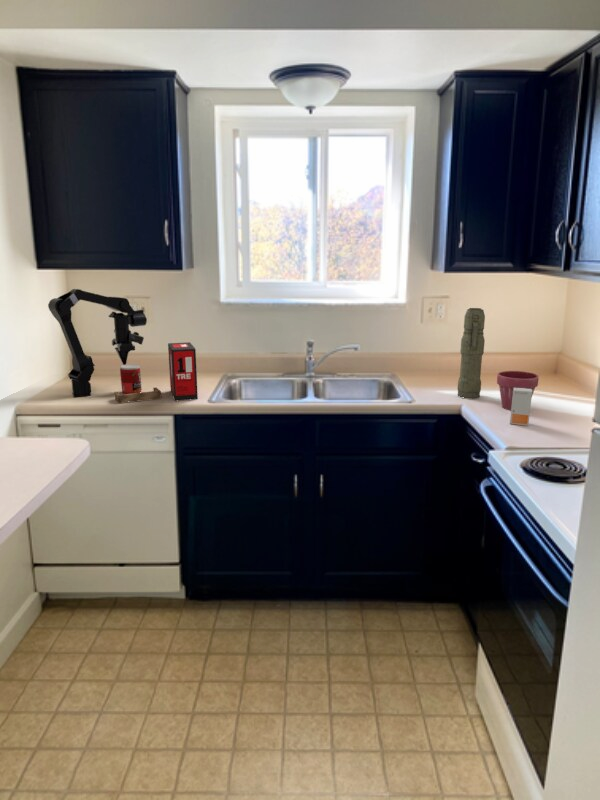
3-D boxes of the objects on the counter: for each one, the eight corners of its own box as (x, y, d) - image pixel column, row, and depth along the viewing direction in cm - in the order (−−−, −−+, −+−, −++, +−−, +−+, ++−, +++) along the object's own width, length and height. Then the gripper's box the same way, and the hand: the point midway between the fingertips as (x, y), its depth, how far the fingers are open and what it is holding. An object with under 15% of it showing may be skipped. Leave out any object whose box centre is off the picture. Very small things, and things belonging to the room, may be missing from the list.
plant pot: (486, 406, 217) (489, 373, 214) (509, 401, 225) (512, 368, 222) (520, 415, 206) (523, 380, 203) (543, 409, 214) (546, 375, 210)
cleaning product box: (197, 399, 228) (195, 348, 222) (174, 400, 225) (171, 350, 220) (192, 389, 243) (190, 342, 238) (170, 391, 240) (168, 343, 235)
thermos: (460, 399, 227) (467, 310, 218) (454, 392, 238) (460, 307, 229) (483, 400, 226) (491, 310, 217) (476, 392, 238) (483, 307, 229)
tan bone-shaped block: (118, 403, 221) (117, 395, 220) (115, 399, 227) (114, 391, 226) (161, 398, 228) (160, 391, 227) (156, 394, 234) (156, 387, 233)
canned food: (136, 395, 233) (134, 368, 230) (118, 394, 235) (116, 367, 232) (145, 390, 240) (143, 364, 238) (127, 389, 242) (125, 364, 239)
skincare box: (509, 424, 195) (513, 389, 192) (509, 420, 199) (513, 387, 196) (528, 426, 193) (532, 391, 190) (528, 422, 197) (532, 388, 194)
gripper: (146, 329, 236) (148, 366, 240) (136, 324, 252) (138, 359, 256) (118, 331, 231) (121, 369, 235) (110, 325, 247) (113, 361, 251)
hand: (124, 364), depth 244 cm, fingers closed
